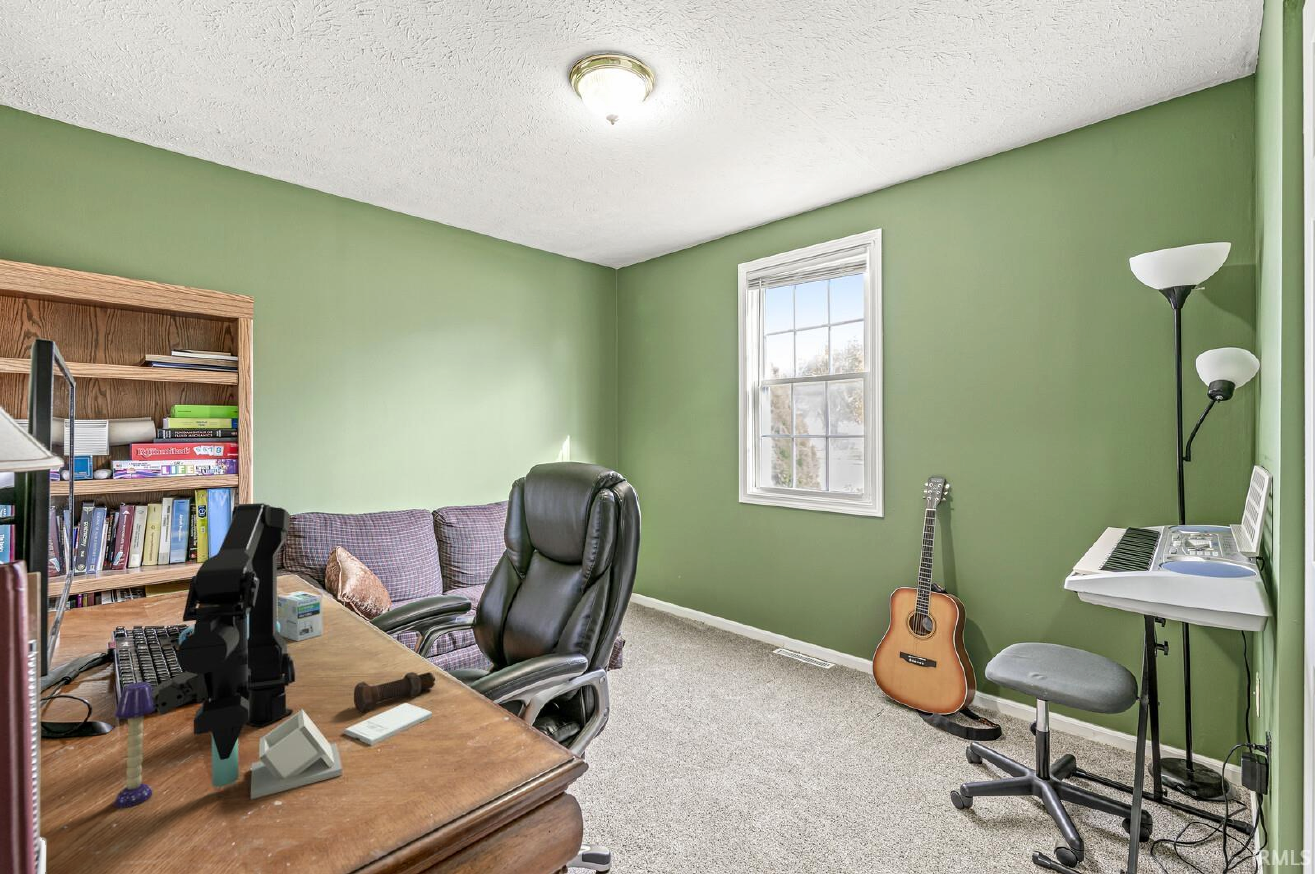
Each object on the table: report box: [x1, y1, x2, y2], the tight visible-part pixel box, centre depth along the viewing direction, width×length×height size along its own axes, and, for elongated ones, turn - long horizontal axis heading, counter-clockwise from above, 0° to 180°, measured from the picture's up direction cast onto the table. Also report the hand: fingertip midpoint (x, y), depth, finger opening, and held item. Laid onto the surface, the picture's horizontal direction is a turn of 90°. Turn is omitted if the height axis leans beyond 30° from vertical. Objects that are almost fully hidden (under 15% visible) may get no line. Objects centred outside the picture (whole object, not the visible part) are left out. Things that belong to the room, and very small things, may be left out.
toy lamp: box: [113, 681, 156, 808], centre depth 91 cm, size 5×5×17 cm
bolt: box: [353, 671, 436, 714], centre depth 125 cm, size 6×5×15 cm
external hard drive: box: [343, 702, 433, 746], centre depth 114 cm, size 2×8×12 cm
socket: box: [250, 708, 343, 800], centre depth 98 cm, size 12×10×8 cm
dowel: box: [211, 734, 239, 787], centre depth 93 cm, size 3×3×9 cm
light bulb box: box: [277, 590, 323, 642], centre depth 165 cm, size 11×7×11 cm, turn 58°
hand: (225, 753), depth 93 cm, fingers closed on dowel, 3 cm apart
